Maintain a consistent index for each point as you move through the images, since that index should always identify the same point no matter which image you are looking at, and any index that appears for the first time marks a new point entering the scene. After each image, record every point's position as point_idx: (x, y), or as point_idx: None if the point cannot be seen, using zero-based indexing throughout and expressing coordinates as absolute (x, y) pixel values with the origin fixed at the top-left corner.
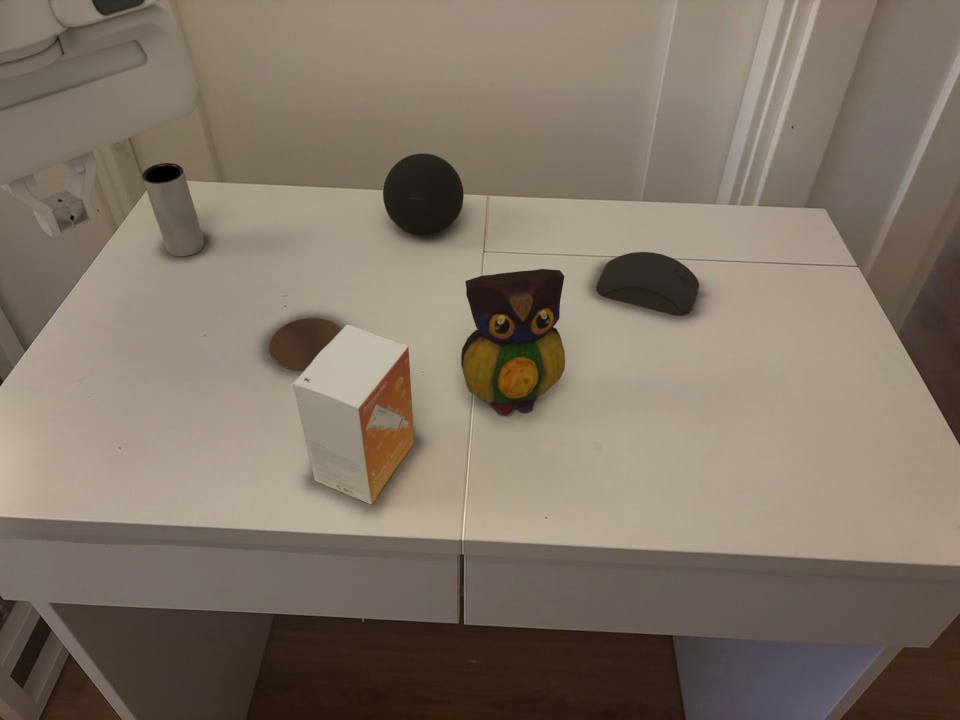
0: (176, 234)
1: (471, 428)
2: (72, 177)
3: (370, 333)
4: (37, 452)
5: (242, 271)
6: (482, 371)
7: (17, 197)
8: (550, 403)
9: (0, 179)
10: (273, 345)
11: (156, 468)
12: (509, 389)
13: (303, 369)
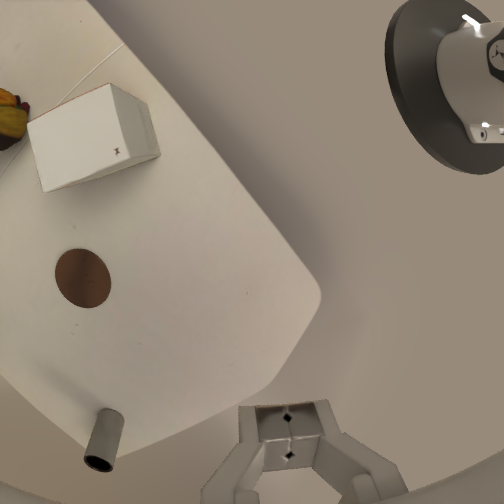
0: (112, 425)
1: None
2: (248, 487)
3: (37, 164)
4: (287, 327)
5: (87, 374)
6: (10, 111)
7: (393, 464)
8: None
9: (445, 490)
10: (103, 296)
11: (239, 257)
12: (11, 96)
13: (98, 258)
